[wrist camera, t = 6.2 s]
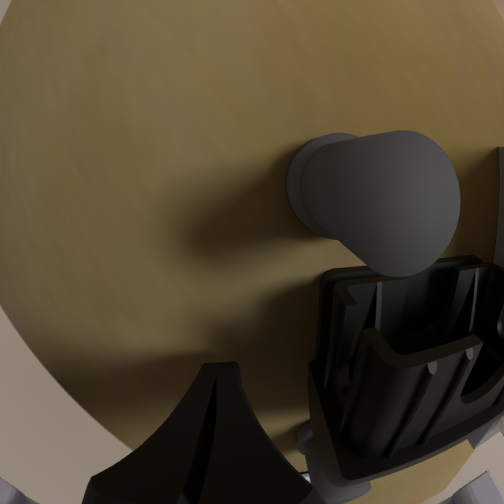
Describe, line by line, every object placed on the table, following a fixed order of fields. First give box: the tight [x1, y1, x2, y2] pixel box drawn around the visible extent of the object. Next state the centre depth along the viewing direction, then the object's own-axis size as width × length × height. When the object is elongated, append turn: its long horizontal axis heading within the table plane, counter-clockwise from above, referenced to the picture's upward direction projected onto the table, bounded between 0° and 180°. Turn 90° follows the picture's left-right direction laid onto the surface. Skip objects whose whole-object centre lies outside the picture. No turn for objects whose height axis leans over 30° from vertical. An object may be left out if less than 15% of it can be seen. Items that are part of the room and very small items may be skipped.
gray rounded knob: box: [286, 131, 460, 277], centre depth 7 cm, size 4×4×5 cm
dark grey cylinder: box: [296, 421, 371, 504], centre depth 11 cm, size 4×4×5 cm
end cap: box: [308, 255, 504, 488], centre depth 9 cm, size 10×7×7 cm
